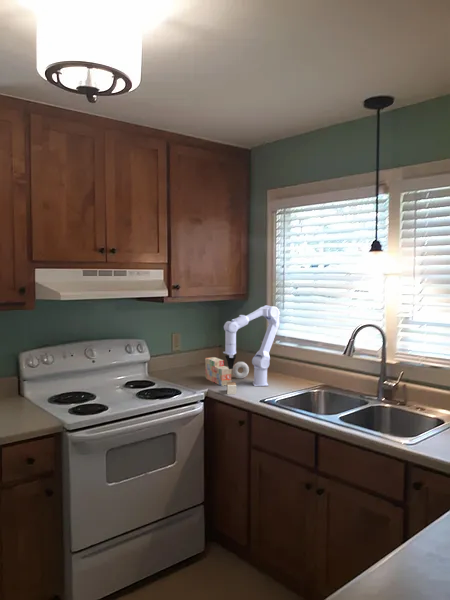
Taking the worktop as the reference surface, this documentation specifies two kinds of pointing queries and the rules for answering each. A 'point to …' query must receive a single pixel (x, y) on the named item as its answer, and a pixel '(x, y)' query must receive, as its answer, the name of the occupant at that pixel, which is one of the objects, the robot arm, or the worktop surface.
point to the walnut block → (231, 388)
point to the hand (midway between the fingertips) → (230, 368)
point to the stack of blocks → (217, 371)
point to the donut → (237, 366)
